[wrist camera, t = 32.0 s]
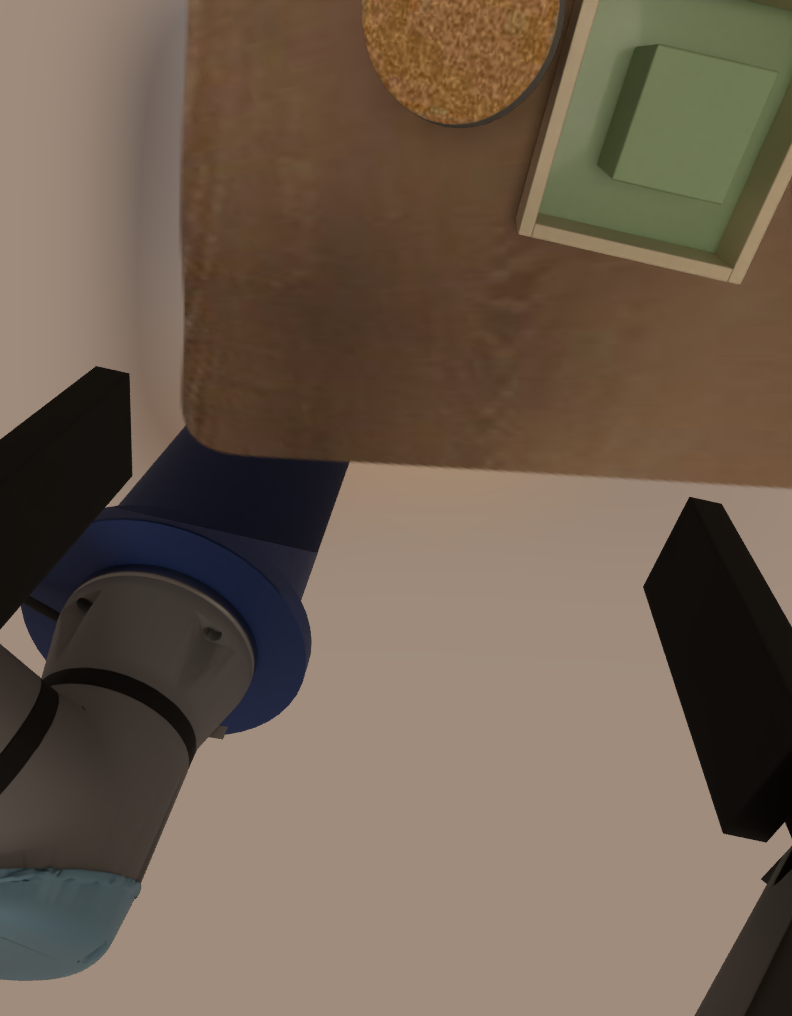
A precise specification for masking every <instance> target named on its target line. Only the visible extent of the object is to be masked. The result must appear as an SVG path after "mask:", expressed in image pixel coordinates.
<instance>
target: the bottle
mask: <svg viewBox="0 0 792 1016" xmlns="http://www.w3.org/2000/svg"><path fill="white" fill-rule="evenodd" d="M361 4H362V24H363V31H364V38H365V43H366V47H367V51H368V54H369V57H370V59H371V62H372V64H373V66H374V68H375V70H376V72H377V74H378V76H379V77H380V79H381V81H382V82H383V84H384V86H385V87H386V88H387V90H388V91H389V92H390V93H391V94H392V95H393V97H394V98H395V99H396V100H397V101H398V102H399V103H400V104H401V105H403V106H404V107H406V108H407V109H408V110H410V111H411V112H413V113H414V114H416V115H417V116H419V117H421V118H423V119H425V120H427V121H429V122H431V123H434V124H438V125H441V126H445V127H454V128H466V127H475V126H479V125H483V124H486V123H490V122H492V121H494V120H496V119H498V118H500V117H502V116H504V115H506V114H507V113H509V112H510V111H511V110H513V109H514V108H515V107H516V106H518V105H519V104H520V103H521V102H523V101H524V100H525V99H526V98H527V97H528V96H529V95H530V93H531V92H532V91H533V90H534V89H535V87H536V86H537V85H538V83H539V82H540V81H541V79H542V78H543V76H544V75H545V73H546V71H547V69H548V67H549V66H550V64H551V62H552V59H553V57H554V55H555V52H556V49H557V46H558V43H559V40H560V36H561V32H562V28H563V22H564V15H565V0H362V3H361Z"/></svg>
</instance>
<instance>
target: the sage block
mask: <svg viewBox="0 0 792 1016" xmlns="http://www.w3.org/2000/svg"><path fill="white" fill-rule="evenodd" d="M778 75H779V72H778V71H774V70H770V69H766V68H761V67H757V66H753V65H749V64H744V63H740V62H736V61H732V60H727V59H723V58H719V57H715V56H710V55H706V54H702V53H698V52H693V51H689V50H685V49H681V48H676V47H672V46H668V45H663V44H654V45H646V46H638V47H636V48H635V49H634V52H633V55H632V59H631V62H630V65H629V68H628V71H627V74H626V77H625V80H624V83H623V86H622V89H621V92H620V96H619V99H618V102H617V105H616V108H615V111H614V114H613V117H612V120H611V123H610V126H609V129H608V133H607V136H606V139H605V142H604V145H603V148H602V151H601V154H600V157H599V160H598V163H597V166H598V167H600V168H601V169H602V170H603V171H604V172H605V173H606V174H607V175H608V176H609V177H610V178H612V179H613V180H615V181H619V182H624V183H628V184H632V185H637V186H641V187H645V188H650V189H654V190H658V191H662V192H667V193H671V194H675V195H680V196H684V197H688V198H693V199H697V200H701V201H705V202H710V203H714V204H718V205H722V204H723V203H724V200H725V198H726V196H727V193H728V191H729V189H730V186H731V184H732V182H733V179H734V177H735V175H736V173H737V170H738V168H739V166H740V163H741V161H742V159H743V156H744V154H745V152H746V149H747V147H748V145H749V142H750V140H751V138H752V136H753V133H754V131H755V129H756V126H757V124H758V122H759V119H760V117H761V115H762V112H763V110H764V108H765V105H766V103H767V101H768V98H769V96H770V94H771V92H772V89H773V87H774V85H775V82H776V80H777V78H778Z"/></svg>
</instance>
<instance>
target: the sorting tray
mask: <svg viewBox="0 0 792 1016" xmlns="http://www.w3.org/2000/svg"><path fill="white" fill-rule="evenodd" d="M654 44H663V45H668V46H672V47H676V48H681V49H685V50H689V51H693V52H698V53H702V54H706V55H710V56H715V57H719V58H723V59H727V60H732V61H736V62H740V63H744V64H749V65H753V66H757V67H761V68H766V69H770V70H774V71H778V72H779V75H778V78H777V80H776V82H775V85H774V87H773V89H772V92H771V94H770V96H769V98H768V101H767V103H766V105H765V108H764V110H763V112H762V115H761V117H760V119H759V122H758V124H757V126H756V129H755V131H754V133H753V136H752V138H751V140H750V142H749V145H748V147H747V149H746V152H745V154H744V156H743V159H742V161H741V163H740V166H739V168H738V170H737V173H736V175H735V177H734V179H733V182H732V184H731V186H730V189H729V191H728V193H727V196H726V198H725V200H724V203H723V204H722V205H718V204H714V203H710V202H705V201H701V200H697V199H693V198H688V197H684V196H680V195H675V194H671V193H667V192H662V191H658V190H654V189H650V188H645V187H641V186H637V185H632V184H628V183H624V182H619V181H615V180H613V179H612V178H610V177H609V176H608V175H607V174H606V173H605V172H604V171H603V170H602V169H601V168H600V167H598V166H597V163H598V160H599V157H600V154H601V151H602V148H603V145H604V142H605V139H606V136H607V133H608V129H609V126H610V123H611V120H612V117H613V114H614V111H615V108H616V105H617V102H618V99H619V96H620V92H621V89H622V86H623V83H624V80H625V77H626V74H627V71H628V68H629V65H630V62H631V59H632V55H633V52H634V49H635V48H636V47H638V46H646V45H654ZM791 177H792V0H575V3H574V7H573V10H572V14H571V18H570V21H569V25H568V29H567V32H566V36H565V40H564V43H563V47H562V51H561V54H560V58H559V62H558V65H557V69H556V73H555V76H554V80H553V84H552V87H551V91H550V95H549V98H548V102H547V106H546V109H545V113H544V116H543V120H542V124H541V127H540V131H539V135H538V138H537V142H536V146H535V149H534V153H533V157H532V160H531V164H530V168H529V171H528V175H527V179H526V182H525V186H524V190H523V193H522V197H521V201H520V204H519V208H518V212H517V215H516V224H517V230H518V234H519V235H523V236H528V237H531V236H532V238H536V239H541V240H545V241H549V242H554V243H558V244H562V245H567V246H571V247H575V248H580V249H584V250H589V251H593V252H597V253H602V254H606V255H610V256H615V257H619V258H623V259H628V260H632V261H636V262H641V263H645V264H650V265H654V266H658V267H663V268H667V269H671V270H676V271H680V272H684V273H689V274H693V275H697V276H702V277H706V278H711V279H715V280H719V281H724V282H728V283H732V284H737V285H740V284H741V282H742V280H743V278H744V276H745V274H746V272H747V270H748V268H749V265H750V263H751V261H752V259H753V257H754V255H755V253H756V251H757V248H758V246H759V244H760V242H761V240H762V238H763V236H764V234H765V232H766V229H767V227H768V225H769V223H770V221H771V219H772V217H773V215H774V213H775V210H776V208H777V206H778V204H779V202H780V200H781V198H782V196H783V194H784V191H785V189H786V187H787V185H788V183H789V181H790V179H791Z"/></svg>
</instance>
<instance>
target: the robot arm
mask: <svg viewBox="0 0 792 1016" xmlns="http://www.w3.org/2000/svg"><path fill="white" fill-rule="evenodd" d="M129 379H130V378H129V373H125V372H120V371H116V370H111V369H107V368H102V367H97V366H96V367H95V368H93V369H92V370H91V371H89V372H88V373H87V374H85V375H84V376H83V377H81V378H80V379H79V380H78V381H76V382H75V383H74V384H72V385H71V386H70V387H68V388H67V389H66V390H64V391H63V392H62V393H60V394H59V395H58V396H57V397H55V398H54V399H53V400H51V401H50V402H49V403H47V404H46V405H45V406H44V407H42V408H41V409H40V410H38V411H37V412H36V413H34V414H33V415H32V416H30V417H29V418H28V419H26V420H25V421H24V422H23V423H21V424H20V425H19V426H17V427H16V428H15V429H13V430H12V431H11V432H9V433H8V434H7V435H6V436H4V437H3V438H2V439H0V629H1V628H2V627H3V626H4V624H5V623H6V622H7V621H8V620H9V619H10V618H11V616H12V615H13V614H14V613H15V612H16V611H17V609H18V608H19V607H20V606H21V605H22V604H25V605H27V606H28V607H30V608H32V609H34V610H35V611H37V612H39V613H41V614H43V615H44V616H46V617H48V618H50V619H51V620H53V621H55V622H57V624H56V628H55V631H54V635H53V638H52V642H51V646H50V649H49V653H48V656H47V660H46V664H45V667H44V671H43V675H42V678H40V677H39V676H37V674H35V673H34V672H33V671H32V670H30V669H29V668H28V667H27V666H26V665H25V664H23V663H22V662H21V661H20V660H19V659H17V658H16V657H15V656H14V655H13V654H11V653H10V652H9V651H8V650H7V649H6V648H4V647H3V646H2V645H1V644H0V979H3V980H18V981H30V980H31V981H32V980H49V979H56V978H61V977H66V976H69V975H73V974H76V973H78V972H81V971H83V970H85V969H86V968H88V967H90V966H91V965H93V964H94V963H95V962H96V961H98V960H99V959H100V958H101V957H102V956H103V955H104V954H105V953H106V951H107V950H108V949H109V947H110V945H111V944H112V942H113V940H114V938H115V936H116V934H117V932H118V930H119V928H120V926H121V924H122V922H123V920H124V919H125V917H126V914H127V913H128V911H129V909H130V907H131V905H132V903H133V901H134V899H136V898H137V896H138V895H139V893H140V890H141V882H142V879H143V877H144V874H145V872H146V870H147V867H148V865H149V863H150V860H151V858H152V855H153V853H154V851H155V848H156V845H157V843H158V841H159V839H160V836H161V834H162V831H163V829H164V827H165V824H166V822H167V820H168V817H169V815H170V812H171V810H172V808H173V805H174V803H175V800H176V798H177V796H178V793H179V791H180V788H181V786H182V784H183V781H184V779H185V777H186V774H187V771H188V769H189V767H190V764H191V762H192V760H193V757H194V755H195V753H196V751H197V749H198V748H199V747H200V745H201V744H202V743H203V742H204V741H205V740H206V739H207V738H208V737H212V738H218V739H223V738H224V735H225V733H226V730H227V728H228V727H226V726H220V724H221V723H222V721H223V720H224V719H225V718H226V717H227V716H228V715H229V714H230V713H231V712H232V711H233V709H234V708H235V707H236V706H237V705H238V704H239V703H240V701H241V700H242V698H243V696H244V695H245V693H246V691H247V690H248V688H249V686H250V683H251V681H252V678H253V676H254V673H255V670H256V666H257V647H256V643H255V639H254V636H253V634H252V632H251V630H250V628H249V626H248V624H247V623H246V621H245V619H244V618H243V617H242V615H241V614H240V613H239V612H238V611H237V609H236V608H235V607H234V606H233V605H232V604H231V603H230V602H229V601H228V600H227V599H225V598H224V597H223V596H222V595H220V594H219V593H218V592H216V591H215V590H213V589H212V588H211V587H209V586H207V585H206V584H204V583H202V582H200V581H198V580H196V579H194V578H192V577H190V576H188V575H185V574H183V573H180V572H177V571H174V570H170V569H167V568H163V567H157V566H151V565H140V564H130V565H119V566H114V567H110V568H106V569H103V570H100V571H98V572H96V573H94V574H92V575H91V576H89V577H88V578H86V579H85V580H84V581H83V582H82V583H81V584H80V585H79V586H78V587H77V589H76V590H75V591H74V592H73V594H72V595H71V596H70V597H69V599H68V600H67V602H66V604H65V605H64V607H63V609H62V611H61V613H59V612H58V611H56V610H54V609H52V608H51V607H49V606H47V605H45V604H43V603H42V602H40V601H38V600H36V599H35V598H33V597H31V596H29V595H30V594H31V593H32V592H33V591H34V590H35V588H36V587H37V586H38V585H39V584H40V583H41V581H42V580H43V579H44V578H45V577H46V576H47V574H48V573H49V572H50V571H51V570H52V569H53V568H54V566H55V565H56V564H57V563H58V562H59V561H60V559H61V558H62V557H63V556H64V555H65V554H66V552H67V551H68V550H69V549H70V548H71V547H72V545H73V544H74V543H75V542H76V541H77V540H78V538H79V537H80V536H81V535H82V534H83V533H84V531H85V530H86V529H87V528H88V527H89V526H90V524H91V523H92V522H93V521H94V520H95V519H96V517H97V516H98V515H99V514H100V513H101V512H102V511H103V509H104V508H105V507H106V506H107V504H109V502H110V501H111V500H112V499H113V498H114V496H115V495H116V494H117V493H118V492H119V491H120V490H121V488H122V487H123V486H124V485H125V484H126V482H127V481H128V480H129V479H130V478H131V477H132V450H131V416H130V415H131V413H130V380H129ZM643 588H644V591H645V594H646V597H647V600H648V603H649V606H650V609H651V613H652V616H653V619H654V622H655V625H656V628H657V631H658V634H659V637H660V640H661V644H662V647H663V650H664V653H665V655H666V659H667V662H668V665H669V668H670V671H671V674H672V677H673V680H674V684H675V687H676V690H677V693H678V696H679V699H680V702H681V705H682V708H683V711H684V714H685V717H686V721H687V723H688V727H689V730H690V733H691V736H692V739H693V742H694V745H695V748H696V751H697V755H698V758H699V761H700V764H701V767H702V770H703V773H704V776H705V779H706V782H707V785H708V789H709V791H710V794H711V798H712V801H713V804H714V807H715V810H716V813H717V816H718V819H719V822H720V825H721V829H722V832H723V833H724V834H728V835H733V836H738V837H743V838H747V839H753V840H757V841H762V842H767V841H768V840H769V839H770V838H771V837H772V836H773V835H774V833H775V832H776V831H777V830H778V829H779V828H780V827H781V826H782V824H783V823H784V822H785V823H786V825H787V828H788V830H789V833H790V835H791V838H792V627H791V625H790V623H789V621H788V620H787V618H786V616H785V614H784V613H783V611H782V610H781V607H780V606H779V604H778V602H777V600H776V599H775V597H774V595H773V593H772V592H771V590H770V588H769V586H768V584H767V583H766V581H765V579H764V577H763V576H762V574H761V572H760V570H759V569H758V567H757V565H756V563H755V562H754V560H753V558H752V556H751V555H750V553H749V551H748V550H747V548H746V546H745V544H744V542H743V541H742V539H741V537H740V535H739V534H738V532H737V530H736V528H735V527H734V525H733V523H732V521H731V520H730V518H729V516H728V514H727V513H726V511H725V509H724V507H723V505H722V504H720V503H715V502H711V501H706V500H702V499H697V498H692V497H689V499H688V501H687V503H686V505H685V507H684V508H683V510H682V512H681V514H680V516H679V518H678V520H677V522H676V524H675V526H674V528H673V530H672V532H671V534H670V536H669V538H668V540H667V541H666V543H665V545H664V547H663V549H662V551H661V553H660V555H659V557H658V559H657V561H656V563H655V565H654V567H653V569H652V571H651V572H650V574H649V577H648V578H647V580H646V582H645V584H644V586H643ZM761 880H763V881H764V882H765V883H766V884H767V886H766V887H765V889H764V891H763V893H762V895H761V897H760V898H759V900H758V902H757V904H756V906H755V907H754V909H753V911H752V913H751V915H750V916H749V918H748V920H747V922H746V924H745V926H744V927H743V929H742V931H741V933H740V934H739V936H738V938H737V940H736V942H735V944H734V945H733V947H732V949H731V951H730V953H729V954H728V956H727V958H726V960H725V962H724V963H723V965H722V967H721V969H720V971H719V972H718V974H717V976H716V978H715V980H714V981H713V983H712V985H711V987H710V989H709V991H708V992H707V994H706V996H705V998H704V1000H703V1001H702V1004H701V1005H700V1007H699V1009H698V1010H697V1012H696V1014H695V1016H792V846H791V847H790V849H789V850H788V851H787V852H786V853H785V854H784V855H783V856H782V857H781V858H780V859H779V860H778V861H777V862H776V864H775V865H774V866H773V867H772V868H771V869H770V870H769V871H768V872H767V873H766V874H765V875H764V876H763V878H762V879H761Z"/></svg>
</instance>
